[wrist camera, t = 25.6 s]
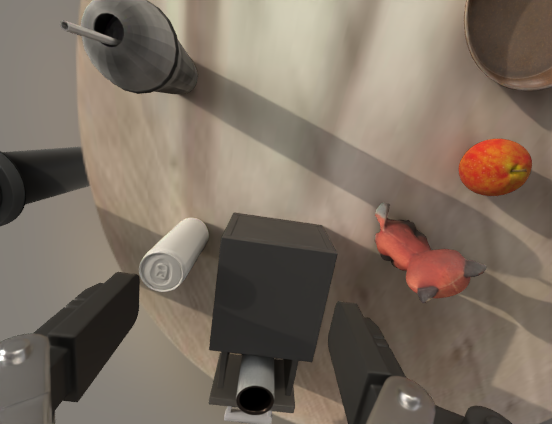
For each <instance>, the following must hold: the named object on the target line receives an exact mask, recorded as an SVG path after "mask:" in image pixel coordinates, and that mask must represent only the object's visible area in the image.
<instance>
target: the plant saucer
mask: <svg viewBox="0 0 552 424" xmlns="http://www.w3.org/2000/svg"><path fill="white" fill-rule="evenodd" d="M464 29H465V37H466V42H467V45H468V48H469V51H470V54H471V56H472V58H473V60H474V61H475V63H476V64H477V66H478V67H479V68H480V69H481V71H482V72H483V73H484V74H485V75H487V76H488V77H489V78H491V79H492V80H493V81H495V82H497V83H498V84H500V85H503V86H505V87H508V88H511V89H516V90H527V91H530V90H541V89H546V88H550V87H552V0H467V1H466V6H465V14H464Z"/></svg>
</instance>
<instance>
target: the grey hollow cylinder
mask: <svg viewBox="0 0 552 424" xmlns="http://www.w3.org/2000/svg"><path fill="white" fill-rule="evenodd" d="M236 403H237V406H238V407H239V409H240V410H241V411H243V412H244V413H246V414H249V415H261V414H264V413H266V412H268V411H269V410H270V409H271V408H272V407H273V405H274V358H273V357H264V356H256V355H247V354H242V359H241V367H240V374H239V381H238V388H237V396H236Z"/></svg>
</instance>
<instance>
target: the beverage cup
mask: <svg viewBox="0 0 552 424" xmlns="http://www.w3.org/2000/svg"><path fill="white" fill-rule="evenodd" d="M60 26H61V28H62V29H63V30H65V31H67V32H70V33H74V34H77V35H80V36H81V37H82V41H83V45H84V49H85V51H86V53H87V55H88V56H89V58H90V60H91V62H92V63H93V65H94V66H95V67H96V68H97V69H98V70H99V71H100V72H101V74H102V75H103V76H104V77H106V78H107V79H108V80H110V81H111V82H112V83H113V84H115V85H117V86H118V87H120V88H122V89H123V90H125V91H129V92H133V93H137V94H140V93H151V92H153V91H155V92H162V93H170V94H186V93H188V92H190V91H191V90H192V89H193V88H194V87H195V85H196V83H197V77H198V75H197V69H196V67H195V65H194V63H193V61H192V59H191V58H190V57H189V55H188V54H187V52H186V51H185V49H184V48H183V47H182V45H181V44H180V42H179V41H178V39H177V35H176V33H175V31H174V28H173V26H172V24H171V22H170V20H169V19H168V18H167V17H166V16H165V14H164V13H163V12H162V11H161V10H160V9H159V8H158V7H156V6H155V5H153V4H152V3H150V2H149V1H147V0H92V2H91V3H90V4H89V5H88V6H87V7H86V9H85V11H84V14H83V17H82V20H81V26H78V25H75V24H73V23H70V22H67V21H64V20H63V21H61V22H60Z"/></svg>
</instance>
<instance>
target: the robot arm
mask: <svg viewBox="0 0 552 424" xmlns="http://www.w3.org/2000/svg"><path fill="white" fill-rule="evenodd" d="M1 204H2V190H1V186H0V207H1ZM139 284H140V279H139V276H138V275H137V274H129V273H122V272H117V273H115V274H114V275H113V276H112V277H111V278H110V279H109V280H107V281H106V282H105V283H99V284H96V285H94V286H92V287H90V288H88V289H86V290H84V291H83V292H82V293H81V294H79V295H78V296H77V297H76V298H75V300H72V301H71V302H70V303H69V304H67V305H66V308H65V307H64V308H63V309H62V310H60V311H59V312H58V313H57V314H56V315H54V316H53V317H52V318H51V319H50V320H48V321H47V322H46V323H45V324H44V325H42V326H41V327H40V328H39V329H38V330H37V331H35V332H34V333H31V334H22V335H17V336H14V337H11V338H8V339H5V340H3V341H1V342H0V424H55V410H56V408H57V407H58V406H59V404H60V403H61V402H62V401H71V402H78V401H79V400H80V398H81V397H82V396H83V394H84V393H85V391H86V390H87V389H88V387H89V386H90V385H91V383H92V382H93V380H94V379H95V378H96V376H97V375H98V374H99V372H100V371H101V369H102V368H103V366H104V365H105V364H106V362H107V361H108V360H109V358H110V357H111V355H112V354H113V353H114V351H115V350H116V349H117V347H118V346H119V344H120V343H121V342H122V340H123V339H124V337H125V336H126V335H127V333H128V332H129V330H130V329H131V328H132V326H133V325H134V323H135V321H136V319H137V316H138V311H139ZM328 347H329V352H330V356H331V360H332V364H333V367H334V371H335V375H336V379H337V383H338V387H339V390H340V394H341V398H342V402H343V406H344V410H345V413H346V417H347V421H348V424H512V423H511V422H510V421H509V420H507V419H506V418H505V417H503V416H502V415H500V414H498V413H497V412H495V411H493V410H491V409H488V408H486V407H482V406H472V407H470V408H468V410H467V412H466V415H465V417H464V416H461V415H458V414H456V413H453V412H451V411H448V410H446V409H443V408H440V407H438V406H436V405H435V404H434V402H433V400H432V398H431V397H430V395H429V394H428V393H427V392H426V391H425V390H424V389H423V388H422V387H421V386H420V385H418V384H417V383H415V382H414V381H412V380H410V379H408V378H406V376H405V374H404V373H403V371H402V369H401V367H400V365H399V363H398V362H397V360H396V358H395V356H394V354H393V352H392V351H391V349H390V348H389V345H388V343H387V341H386V340H385V339H384V336H383V334H382V332H381V330H380V329H379V327H378V326H377V325H376V324H375V323H374V322H373V321H372V320H371V319H370V318H365V317H363V315H362V313H361V311H360V309H359V307H358V305H357V304H355V303H348V302H340V301H338V302H337V304H336V306H335V310H334V314H333V318H332V322H331V327H330V331H329V336H328Z"/></svg>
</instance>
